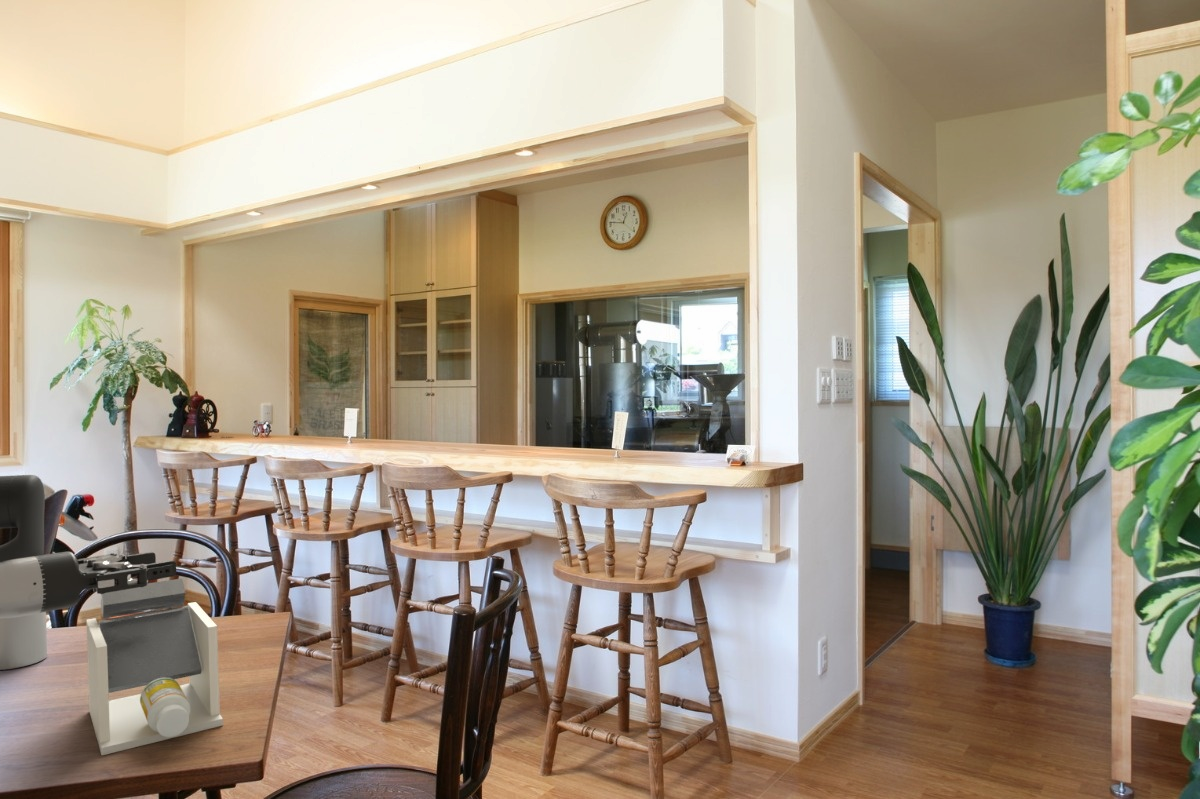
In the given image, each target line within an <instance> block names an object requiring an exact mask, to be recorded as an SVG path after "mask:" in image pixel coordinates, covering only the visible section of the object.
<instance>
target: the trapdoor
mask: <svg viewBox="0 0 1200 799" xmlns="http://www.w3.org/2000/svg"><path fill="white" fill-rule="evenodd" d="M185 598H186V589H185V584H184V579H183V578H176V579H170V580H163V581H156V582H147V586H144V587H138V588H132V589H126V590H120V591H114V592H108V593H104V594H100V606H101V615H102V619H99V620H98V625H99V628H100V630H101V633H102V635H103V637H104V640H105V642H106V645H107V663H108V693H109V694H111V693H116V692H120V691H124V690H125V691H126V690H129V689H134V688H140V687H143V686H145V687H146V686H147V685H148V684H149V683H150V682H152V681H153V680H156V679H159V678H171V679H174V680H177V679H182V678H187V677H190V676H193V675H197V674H201V671H202V668H201V664H200V659H199V655H198V650H197V646H196V641H195V636H194V632H193V627H192V623H191V618H190V614H189V609H188V605H185Z"/></svg>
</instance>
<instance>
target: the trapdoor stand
mask: <svg viewBox="0 0 1200 799" xmlns="http://www.w3.org/2000/svg"><path fill="white" fill-rule="evenodd" d="M187 606H188V609H189V614H190V618H191V623H192V627H193V632H194V636H195V641H196V646H197V650H198V655H199V659H200V664H201V668H202V671H201V674H197V675H193V676H189V683H185V684H181V685H180V684H179V685H180V687H181V689H182V691H183V693H184V695H185V697H186V699H187V700H188V702H189V705H190V714H189V723H188V725H187V727H186V729H185V730H184V731H183V732H182V733H180V734H179V735H177V736H174V737H164V736H162V735H160V734H159V733H158V732H155V731H154V730H152V729H151V728H150V726H149V724H148V722H147V719H146V717H145V714H144V712H143V709H142V707H141V704H140V696H141V693H139V694H134V695H128V696H124V697H120V698H115V699H111V700H110V699H109V694H110V693H108V663H107V645H106V642H105V640H104V637H103V635H102V633H101V630H100V628H99V622H98V621H97V618H96V617H95V618H94V617H93V618H87V619H86V620H85V621H86V623H85V624H86V646H87V647H86V649H87V650H86V652H87V653H86V654H87V680H88V682H87V683H88V706H89V707H88V708H89V715H90V718H91V722H92V726H93V729H94V733H95V737H96V740H97V744H98V748H99V751H100V754H101V756H105V755H109V754H113V753H118V752H121V751H125V750H129V749H133V748H136V747H141V746H145V745H146V746H147V745H149V744H150V745H151V744H154V743H157V742H161V741H166V740H169V739H174V738H177V737H182V736H186V735H190V734H193V733H199V732H201V731H206V730H210V729H213V728H214V729H215V728H218V727H221V726H223V725H224V719H223V716H222V715H221V714H220V711H221V710H220V708H221V707H220V683H219V682H220V681H219V678H220V675H219V647H218V625H217V624H216V623H215V622H214V621H213V619H211V617H210V616H209V615H208V613H206V612H205V611H204V610H203V608H202V607H201V606H200V604H198V603H197V602H196V601H195V602H188V603H187Z"/></svg>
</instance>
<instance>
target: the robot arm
mask: <svg viewBox="0 0 1200 799" xmlns="http://www.w3.org/2000/svg"><path fill="white" fill-rule="evenodd" d="M45 497H46V496H45V487H44V483H43V481H42V479H41V478H40V477H39V476H37V475H34V474H21V475H19V474H17V475H16V474H15V475H0V529H11V528H13V529H15V528H17V535H16V536H15V537H14V538H13V539H11V540H9V541H8V542H5V543H4V544H1V545H0V670H11V669H18V668H22V667H26V666H29V665H33V664H36V663H38V662H41V661H43V660H44V659H46V658H47V657H48V638H47V634H48V632H47V629H48V628H47V612H52V611H56V610H57V611H58V610H63V609H68V608H69V609H70V608H73V607H75V606H76V605H78V603H79V601H80V598H81V593H82V591H84V590H91V589H92V590H93V592H96V594H98V595H99V594H100V595H101V594H104V593H108V592H114V591H120V590H126V589H132V588H138V587H144V586H147V583H149V582H151V581H155V580H159V579H161V580H162V579H167V578H173V577H175V576H176V575H177V563H176V561H174V560H165V561H159V562H157V559H156V553H155V552H153V551H147V552H141V553H136V554H135V553H134V554H129V555H128V554H127V555H126V554H123V553H121V554H117V553H114V552H113V553H109V554H102V555H97V556H91V557H90V556H89V557H86V558H85V557H84V558H79V559H77V557H76V555H75V554H74V553H73V552H72V551H62V552H56V553H54V552H53V553H48V554H45V551H44V550H45V507H46V505H45V503H46V498H45ZM134 574H136V578H132V575H134Z"/></svg>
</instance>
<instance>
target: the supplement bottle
mask: <svg viewBox="0 0 1200 799" xmlns="http://www.w3.org/2000/svg"><path fill="white" fill-rule="evenodd" d="M140 694H141V696H140V704H141V707H142V709H143V712H144V714H145V717H146V719H147V722H148V724H149V726H150V728H151V729H152V730H154V731H155V732H158V733H159V734H160V735H162V736H164V737H174V736H177V735H179V734H180V733H182V732H183V731H184V730H185V729H186V727H187V725H188V723H189V714H190V705H189V702H188V700H187V699H186V697H185V695H184V693H183V691H182V689H181V687H180V684H179V683H178V681H177V680H176V679H171V678H159V679H156V680H153V681H152V682H150V683H149V684H148V685H145V687H144V688H143V690H142V691H141V693H140ZM174 738H175V737H174Z"/></svg>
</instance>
